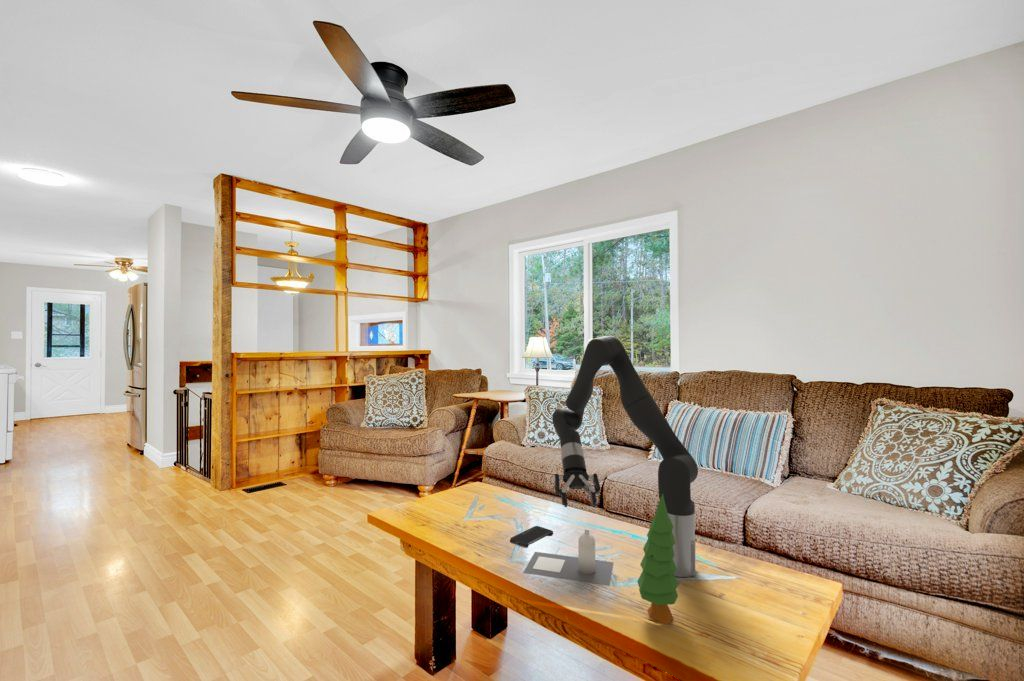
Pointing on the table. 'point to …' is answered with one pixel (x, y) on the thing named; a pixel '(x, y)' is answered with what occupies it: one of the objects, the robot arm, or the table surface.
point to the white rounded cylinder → (586, 553)
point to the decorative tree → (659, 567)
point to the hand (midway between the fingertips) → (579, 505)
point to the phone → (531, 536)
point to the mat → (568, 568)
